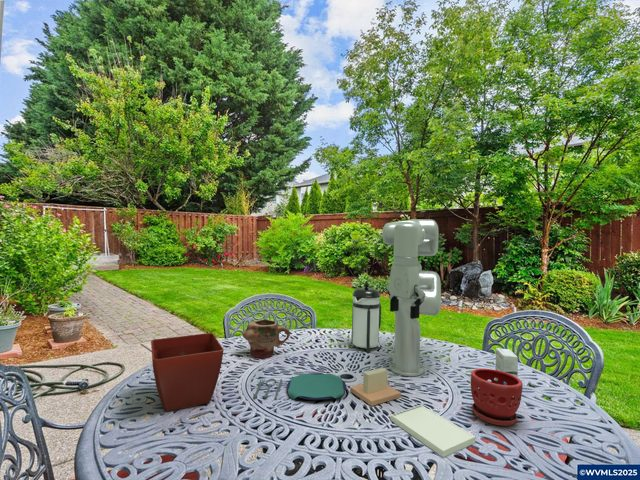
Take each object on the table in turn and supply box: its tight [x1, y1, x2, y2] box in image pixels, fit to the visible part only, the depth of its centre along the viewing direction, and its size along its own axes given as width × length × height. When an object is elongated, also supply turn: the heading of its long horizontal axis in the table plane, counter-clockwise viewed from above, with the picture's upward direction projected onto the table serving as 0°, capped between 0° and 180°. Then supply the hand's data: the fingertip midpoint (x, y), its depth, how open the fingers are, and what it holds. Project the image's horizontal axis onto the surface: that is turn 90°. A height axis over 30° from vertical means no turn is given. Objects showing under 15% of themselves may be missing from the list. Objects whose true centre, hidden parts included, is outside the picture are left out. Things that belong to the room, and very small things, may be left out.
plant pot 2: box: [470, 368, 523, 427], centre depth 97 cm, size 13×13×12 cm
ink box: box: [494, 347, 519, 385], centre depth 118 cm, size 9×5×12 cm, turn 168°
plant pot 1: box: [150, 332, 225, 413], centre depth 103 cm, size 19×19×17 cm
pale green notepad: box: [389, 404, 477, 458], centre depth 89 cm, size 18×12×2 cm, turn 30°
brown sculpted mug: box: [242, 319, 291, 359], centre depth 143 cm, size 20×12×14 cm, turn 98°
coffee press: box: [348, 282, 382, 354], centre depth 156 cm, size 17×16×30 cm
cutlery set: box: [252, 372, 347, 401], centre depth 112 cm, size 20×30×2 cm, turn 89°
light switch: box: [349, 367, 402, 407], centre depth 109 cm, size 11×12×7 cm
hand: (404, 314), depth 109 cm, fingers open, 9 cm apart
